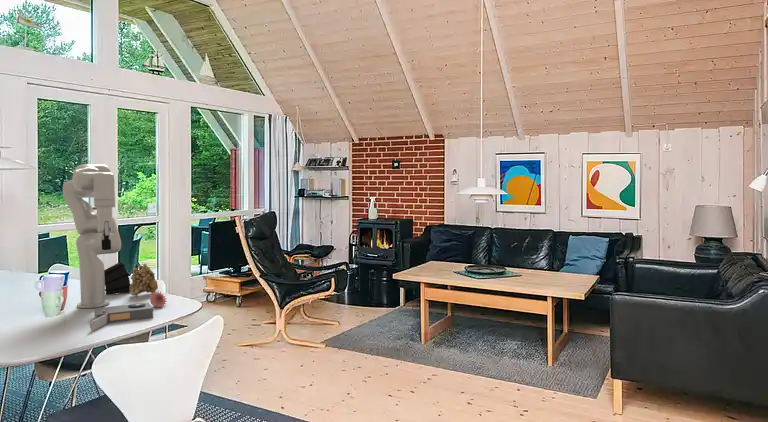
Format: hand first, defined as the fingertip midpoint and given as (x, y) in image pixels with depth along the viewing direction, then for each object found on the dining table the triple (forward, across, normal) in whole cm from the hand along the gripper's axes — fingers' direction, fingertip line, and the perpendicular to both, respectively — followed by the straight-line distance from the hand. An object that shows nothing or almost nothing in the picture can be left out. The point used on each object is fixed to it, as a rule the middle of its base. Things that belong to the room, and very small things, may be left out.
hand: (106, 249), depth 225 cm
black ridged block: (+27, -49, +7) cm, 57 cm away
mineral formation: (+27, -38, +18) cm, 50 cm away
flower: (+27, -9, +20) cm, 35 cm away
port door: (+27, +16, -5) cm, 32 cm away
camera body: (+27, +5, +5) cm, 28 cm away
